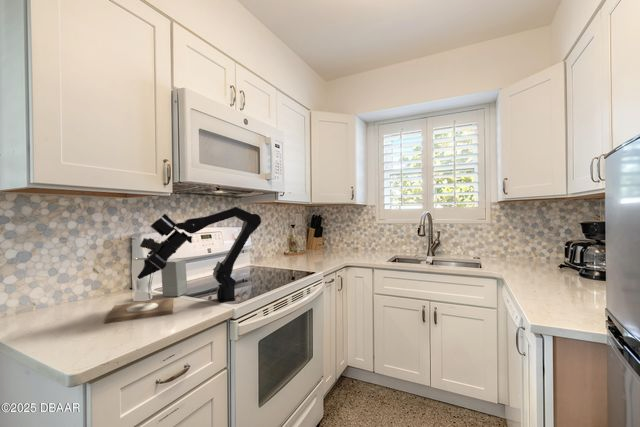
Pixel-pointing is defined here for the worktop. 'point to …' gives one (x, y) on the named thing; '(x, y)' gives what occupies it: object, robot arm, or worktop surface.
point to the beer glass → (141, 281)
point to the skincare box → (174, 278)
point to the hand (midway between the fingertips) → (138, 276)
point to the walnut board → (140, 310)
